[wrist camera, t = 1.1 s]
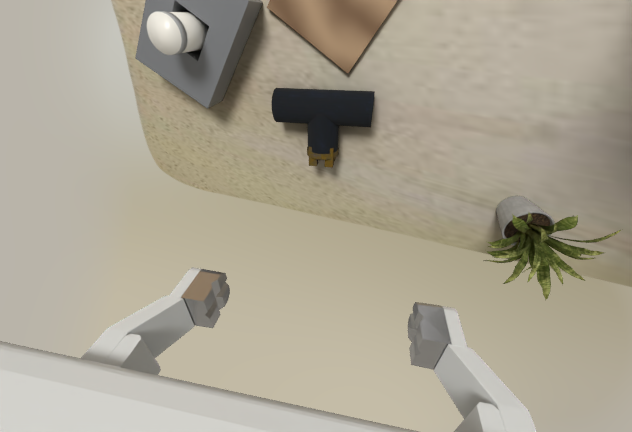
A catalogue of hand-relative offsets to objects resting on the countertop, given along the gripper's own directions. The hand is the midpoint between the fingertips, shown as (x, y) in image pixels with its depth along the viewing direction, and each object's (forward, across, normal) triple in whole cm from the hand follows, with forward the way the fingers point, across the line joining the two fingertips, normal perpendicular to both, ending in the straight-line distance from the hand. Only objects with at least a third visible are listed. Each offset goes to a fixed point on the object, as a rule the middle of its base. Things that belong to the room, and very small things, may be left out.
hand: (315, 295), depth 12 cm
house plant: (+38, -29, +15) cm, 50 cm away
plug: (+39, +24, -8) cm, 46 cm away
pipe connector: (+39, +5, +4) cm, 40 cm away
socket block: (+39, +24, -8) cm, 46 cm away
